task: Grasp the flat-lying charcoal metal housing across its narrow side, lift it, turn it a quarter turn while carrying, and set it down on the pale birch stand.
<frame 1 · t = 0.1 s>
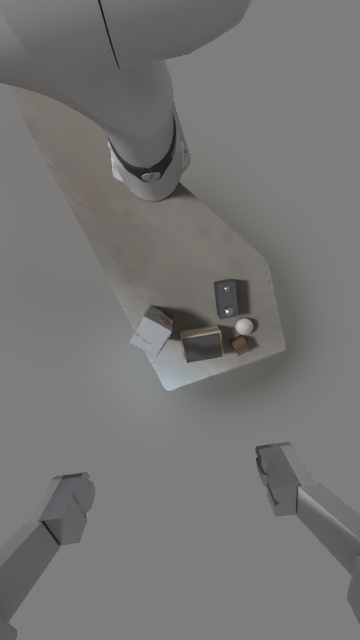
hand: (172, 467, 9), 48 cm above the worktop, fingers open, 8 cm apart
white egg shape: (242, 324, 58), on the worktop
walnut block: (237, 342, 60), on the worktop
housing: (223, 296, 55), on the worktop
stand: (200, 340, 59), on the worktop
ink box: (155, 321, 57), on the worktop
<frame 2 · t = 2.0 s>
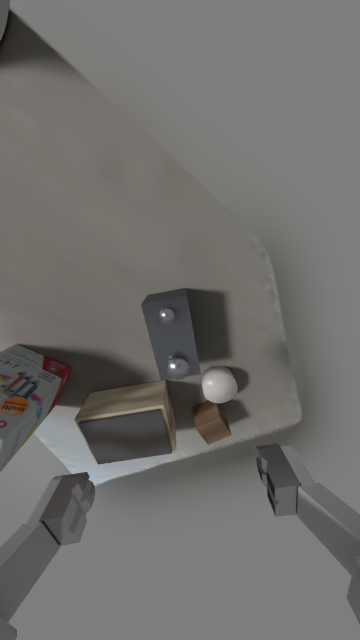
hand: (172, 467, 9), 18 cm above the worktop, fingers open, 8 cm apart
white egg shape: (216, 378, 29), on the worktop
walnut block: (209, 410, 31), on the worktop
housing: (173, 326, 26), on the worktop
stand: (135, 408, 30), on the worktop
ink box: (37, 375, 28), on the worktop
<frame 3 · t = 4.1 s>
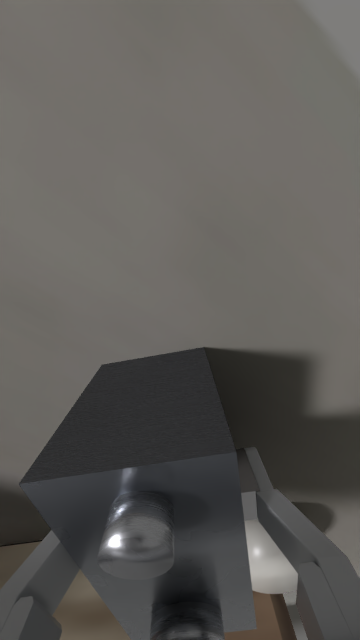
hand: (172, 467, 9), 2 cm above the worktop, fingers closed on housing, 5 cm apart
white egg shape: (264, 519, 13), on the worktop
walnut block: (243, 564, 15), on the worktop
housing: (172, 431, 10), on the worktop, touching gripper
stand: (95, 566, 15), on the worktop
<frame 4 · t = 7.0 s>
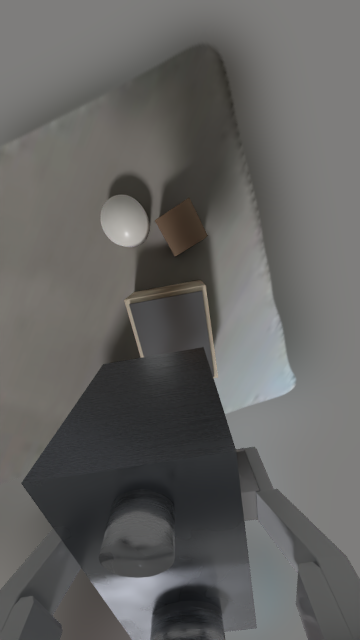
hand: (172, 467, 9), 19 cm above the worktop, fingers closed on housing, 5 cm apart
white egg shape: (129, 225, 22), on the worktop
walnut block: (180, 233, 23), on the worktop
housing: (172, 431, 10), point 17 cm above the worktop, touching gripper
stand: (175, 326, 26), on the worktop
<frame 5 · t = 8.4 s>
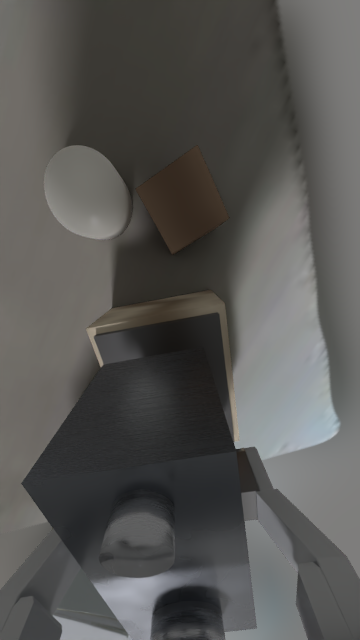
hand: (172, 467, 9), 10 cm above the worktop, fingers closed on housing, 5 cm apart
white egg shape: (100, 205, 14), on the worktop
walnut block: (181, 218, 14), on the worktop
housing: (172, 431, 10), point 8 cm above the worktop, touching gripper
stand: (173, 357, 18), on the worktop
ink box: (123, 456, 23), on the worktop
when the fingers open (9 cm above the worktop, at t = 9.4 s): housing drops 2 cm, resting on stand.
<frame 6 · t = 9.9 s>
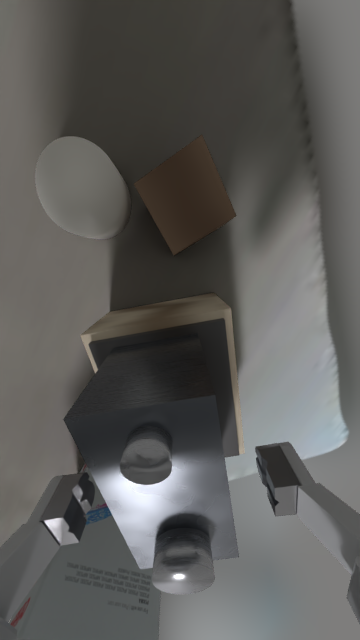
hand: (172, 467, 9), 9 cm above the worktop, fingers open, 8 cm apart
white egg shape: (96, 202, 13), on the worktop
walnut block: (183, 216, 13), on the worktop
housing: (171, 407, 12), point 5 cm above the worktop, touching stand
stand: (174, 362, 17), on the worktop
ink box: (122, 465, 22), on the worktop
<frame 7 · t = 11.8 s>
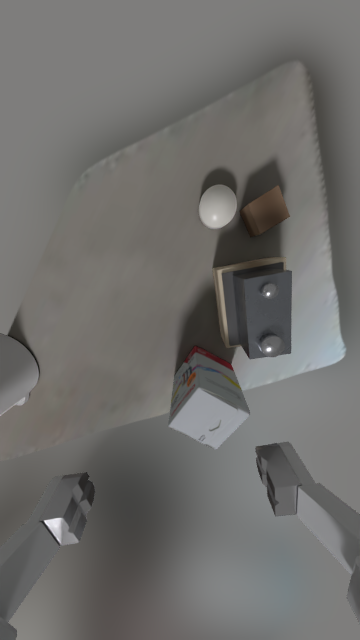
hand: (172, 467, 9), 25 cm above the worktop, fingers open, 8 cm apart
white egg shape: (215, 210, 27), on the worktop
walnut block: (257, 217, 27), on the worktop
housing: (253, 307, 26), point 5 cm above the worktop, touching stand
stand: (243, 299, 31), on the worktop
ink box: (201, 370, 36), on the worktop
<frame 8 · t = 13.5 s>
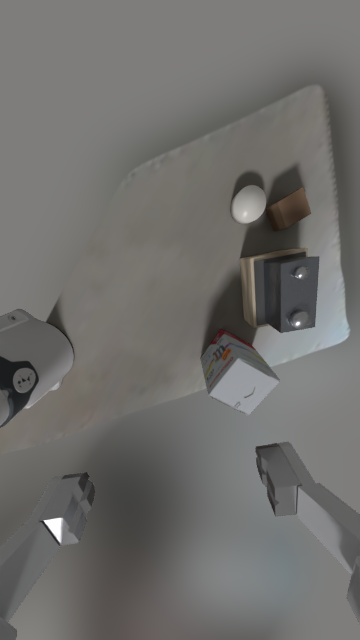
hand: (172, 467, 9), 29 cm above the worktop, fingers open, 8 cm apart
white egg shape: (244, 208, 31), on the worktop
walnut block: (280, 214, 31), on the worktop
housing: (279, 291, 30), point 5 cm above the worktop, touching stand
stand: (265, 286, 35), on the worktop
ink box: (225, 352, 40), on the worktop
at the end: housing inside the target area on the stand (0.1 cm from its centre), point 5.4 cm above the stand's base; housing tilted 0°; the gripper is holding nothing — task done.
